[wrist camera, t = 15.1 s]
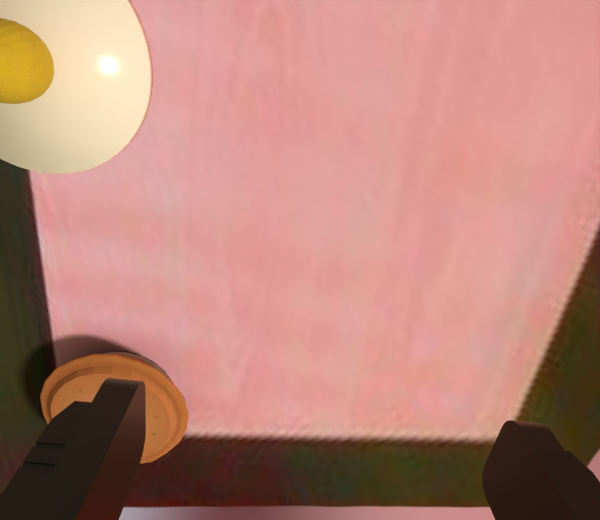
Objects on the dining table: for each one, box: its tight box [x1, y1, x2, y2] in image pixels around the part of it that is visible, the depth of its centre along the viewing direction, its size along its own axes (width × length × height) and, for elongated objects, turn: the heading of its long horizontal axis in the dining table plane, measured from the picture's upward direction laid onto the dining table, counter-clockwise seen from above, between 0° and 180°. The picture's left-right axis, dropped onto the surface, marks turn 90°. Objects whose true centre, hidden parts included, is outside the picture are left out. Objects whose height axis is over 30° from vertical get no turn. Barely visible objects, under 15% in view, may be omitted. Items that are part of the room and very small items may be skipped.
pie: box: [40, 351, 189, 463], centre depth 48 cm, size 15×16×5 cm
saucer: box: [0, 0, 153, 174], centre depth 35 cm, size 18×18×1 cm
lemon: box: [0, 18, 54, 104], centre depth 31 cm, size 6×6×8 cm
